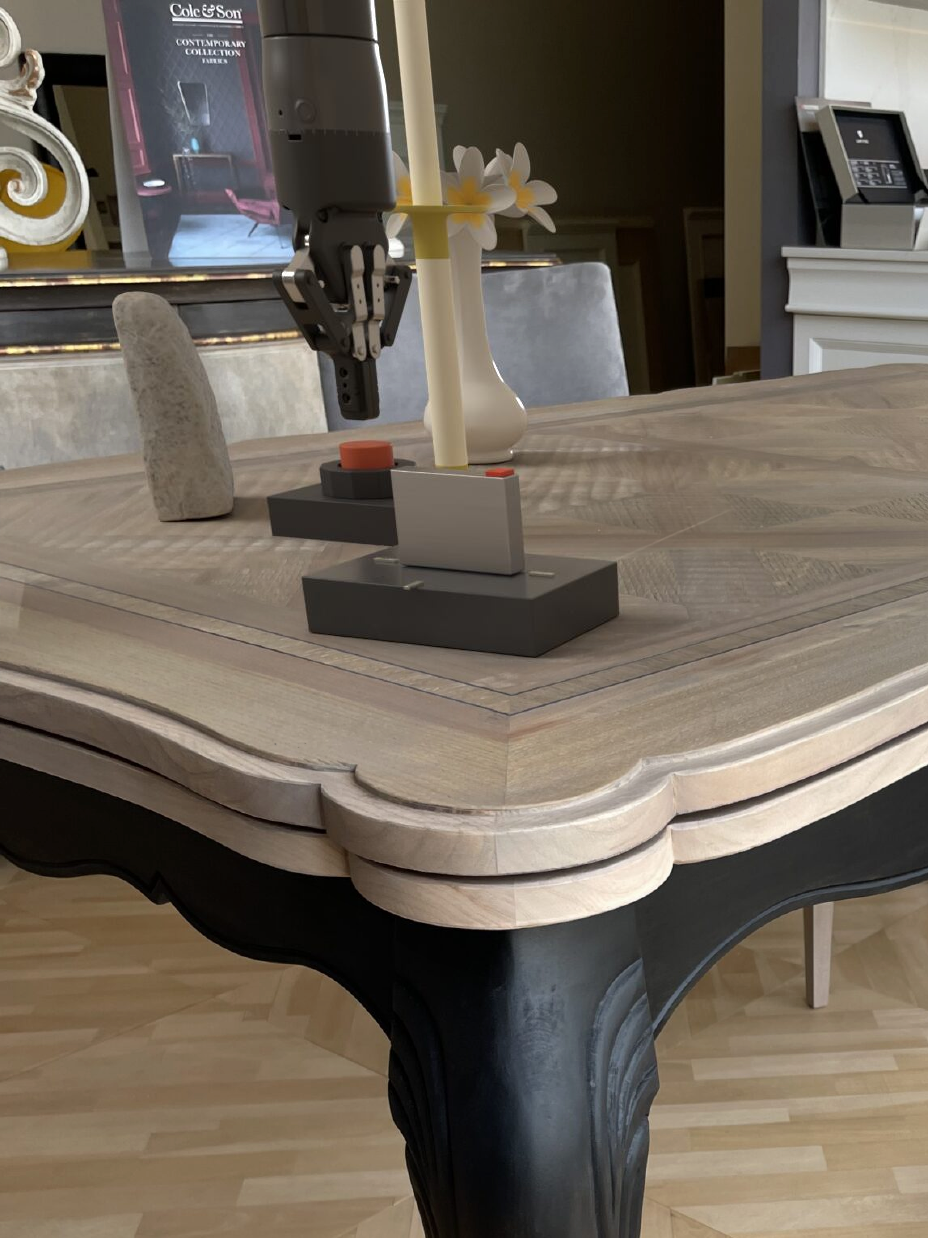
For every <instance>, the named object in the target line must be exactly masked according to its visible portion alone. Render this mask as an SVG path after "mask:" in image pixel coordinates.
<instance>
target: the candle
mask: <svg viewBox="0 0 928 1238" xmlns="http://www.w3.org/2000/svg"><path fill="white" fill-rule="evenodd" d="M392 1H393V11H394V21H395V33H396V42H397V43H396V44H397V52H398V63H399V73H400V83H401V94H402V104H403V115H404V126H405V135H406V145H407V146H406V147H407V155H408V166H409V168H408V169H409V173H410V179H411V189H412V200H413V205H396V207H395V209H394V210H392V211H390V212H383V213H386V214H396V213H406V214H408V215H409V216H410V218H411V220H412V225H411V226H412V237H413V247H414V256H415V268H416V279H417V288H418V289H417V290H418V299H419V307H420V308H419V309H420V321H421V329H422V340H423V341H422V342H423V351H424V359H425V360H424V362H425V373H426V383H427V390H428V399H429V403H430V414H431V424H432V434H433V439H432V443H433V454H434V455H433V456H434V465H435V468H445V469H459V470H469V464H468V461H467V450H466V438H465V427H464V415H463V404H462V392H461V381H460V369H459V358H458V346H457V334H456V323H455V311H454V300H453V288H452V277H451V265H450V254H449V242H448V231H447V218H448V215H450V214H452V213H485V212H487V206H465V205H447V204H445V205H444V204H443V203H444V202H443V201H442V192H441V181H440V170H441V169H440V160H439V159H440V158H439V148H438V147H439V146H438V136H437V126H436V125H437V123H436V114H435V113H436V112H435V103H434V102H435V101H434V89H433V79H432V69H431V68H432V67H431V55H430V45H429V36H428V35H429V33H428V22H427V21H428V20H427V12H426V11H427V10H426V9H427V8H426V0H392Z"/></svg>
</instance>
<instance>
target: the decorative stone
mask: <svg viewBox="0 0 928 1238" xmlns="http://www.w3.org/2000/svg"><path fill="white" fill-rule="evenodd" d="M111 305H112V315H113V323H114V326H115V329H116V333H117V337H118V343H119V347H120V351H121V356H122V360H123V365H124V369H125V374H126V378H127V382H128V385H129V388H130V392H131V397H132V404H133V407H134V411H135V412H134V413H135V416H136V421H137V427H138V435H139V439H140V446H141V447H140V448H141V454H142V463H143V467H144V472H145V473H144V474H145V477H146V478H145V479H146V482H147V486H148V491H149V495H150V499H151V503H152V507H153V509H154V514H155V517H156V519H157V520H159V521H160V522H174V521H175V522H176V521H184V520H192V519H194V520H196V519H197V520H199V519H206V518H213V517H218V516H221V515H226V514H230V513H231V512H232V509H233V507H234V494H235V482H234V480H235V479H234V473H233V466H232V463H231V460H230V459H231V458H230V455H229V449H228V445H227V442H226V436H225V434H224V430H223V426H222V425H223V424H222V420H221V416H220V413H219V410H218V405H217V399H216V395H215V392H214V389H213V387H212V385H211V383H210V380H209V377H208V374H207V371H206V368H205V365H204V363H203V362H202V359H201V356H200V354H199V351H198V349H197V347H196V345H195V342H194V341H193V340H194V339H193V338H192V336H191V334H190V331H189V328H188V327H187V326H186V324H185V322H184V321H183V320H182V319H181V317H180V316H179V314H178V313H177V312H176V310H175V309H174V308H173V307H172V306H171V304H170V303H169V301H167V299H165V298H164V297H163V296H161V295H159V294H157V293H153V292H148V291H147V292H146V291H126V292H123V293H121V294H118V295H117V296H116V297H115V298H114V300H113V302H112V304H111Z"/></svg>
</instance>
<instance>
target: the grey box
mask: <svg viewBox="0 0 928 1238" xmlns="http://www.w3.org/2000/svg"><path fill="white" fill-rule="evenodd" d="M519 477H520V475H519V473H515V469H514V468H506V467H495V468H492V469H489V470H485V471H484V470H473V469H472V470H471V469H468V470H459V469H445V468H436V467H429V466H419V465H418V466H417V465H416V466H404V467H400V468H396V469H392V470H391V480H392V489H393V498H394V507H395V516H396V526H397V535H398V544H399V553H400V562H401V565H409V566H419V567H430V568H440V569H450V570H461V571H471V572H482V573H492V574H502V575H513V574H515V573H518V572H520V571H523V570H525V557H524V553H525V547H524V546H525V545H524V544H525V543H524V531H523V515H522V504H521V489H520V488H521V487H520V478H519Z"/></svg>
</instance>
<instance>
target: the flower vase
mask: <svg viewBox="0 0 928 1238" xmlns="http://www.w3.org/2000/svg"><path fill="white" fill-rule="evenodd" d="M452 151H453V152H452V158H453V163H454V167H455V169H456V171H455V172H451V171H450V172H447V171H444V170H443V169H440V181H441V192H442V203H444V204H445V205H465V206H487V212H485V213H452V214H450V215H448V218H447V231H448V242H449V254H450V265H451V277H452V288H453V300H454V311H455V323H456V334H457V346H458V358H459V369H460V381H461V392H462V404H463V415H464V427H465V438H466V450H467V461H468V465H481V464H483V465H484V464H485V465H486V464H495V463H496V464H497V463H504V462H508V461H510V460H512V459H513V457H514V451H513V449H512V447H514V446H515V445H516V444H517V443H519V442H520V441H521V440H522V438H523V437H524V435H525V433H526V432H527V429H528V427H529V415H528V412H527V409H526V407H525V404H524V403H523V401H522V400H521V398H520V397H519V395H517V393H516V392H515V391H514V390H513V389H512V388H511V387H510V385H508V384H507V383H506V382H505V380H504V379H503V377H502V376H501V373H500V371H499V369H498V367H497V364H496V362H495V359H494V357H493V354H492V351H491V347H490V342H489V336H488V330H487V322H486V312H485V305H484V295H483V285H482V258H483V257H482V256H483V255H482V254H483V249H484V250H486V251H492V250H494V249H495V248H496V247H497V243H498V234H497V231H496V227H495V221H496V220H495V214H497V215H501V216H505V217H509V218H516V219H517V218H522V217H524V216H525V215H528V216H529V217H531V218H533V220H535V221H536V222H537V223H539V224H540V225H541V226H542V227H543V228H545V229H546V230H547V231H549V232H551V233H553V234H554V233H556V231H557V230H556V227H555V224H554V221H553V219H552V218H551V216H550V215H549V214H548V212H547V211H546V210H545V209H543V208H542V207H540V206H543V205H544V206H545V205H552V204H554V203H555V202H557V199H558V194H557V192H556V190H555V188H554V187H553V186H552V185H550V184H549V183H548V182H545V181H543V180H540V179H539V180H537V179H535V180H530V181H529V182H527V181H528V180H529V178H530V174H531V162H530V157H529V154H528V150H527V149H526V147H525V146H524V144H523V143H521V142H520V141H519V142H517V143H516V144H515V146H514V150H513V157H512V156H511V155H510V154H507V153H505V152H504V151H503V150H502V149H500V148H495V154H496V156H495V157H494V158H493V159H492V160H491V161H490V162H489V163H488V164H487V165H486V167H485V160H484V156H483V155H482V152H481V151H480V149H478V148H477V147H476V146H470V147H469V146H468V148H466V147H464V146H462V145H457V146H454V148H453V150H452ZM392 156H393V167H394V178H395V188H396V199H397V204H396V205H413V200H412V189H411V179H410V171H409V170H408V168H407V167H406V165H405V162H403V160H402V159H401V158H400V156H399V155H398V154H397V153H396V152H395V151H394V150H392ZM384 214H385V215H386V214H387V213H383V214H382V215H384ZM386 223H387V224H386V227H385V231H386V234H387V237H388V240H393V239H395V238H396V237H397V236H398V234H400V232H401V231H402V230H404V229H406V228H408V227H411V226H412V220H411V218H410V216H409V215H408V214H406V213H392V214H391V215H390V216H389V218H388V220H387V222H386ZM422 422H423V426H424V429H425V431H426V432H427V435H428V436H429V437H430V438H431V439H432V440H433V434H432V424H431V414H430V403H429V398H428V399H427V401H426V403H425V406H424V410H423V415H422Z"/></svg>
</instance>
